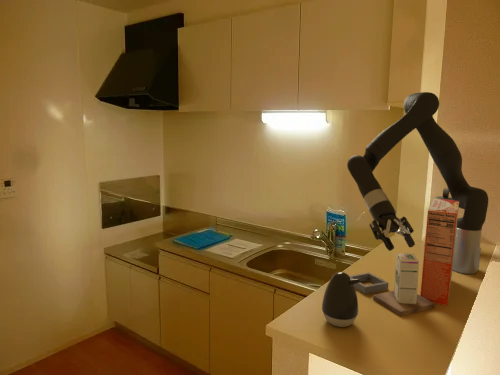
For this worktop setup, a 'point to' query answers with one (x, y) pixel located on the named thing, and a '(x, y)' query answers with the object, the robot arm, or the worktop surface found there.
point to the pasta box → (439, 250)
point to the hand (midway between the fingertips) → (402, 247)
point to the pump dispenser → (340, 300)
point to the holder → (376, 287)
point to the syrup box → (406, 278)
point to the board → (403, 304)
